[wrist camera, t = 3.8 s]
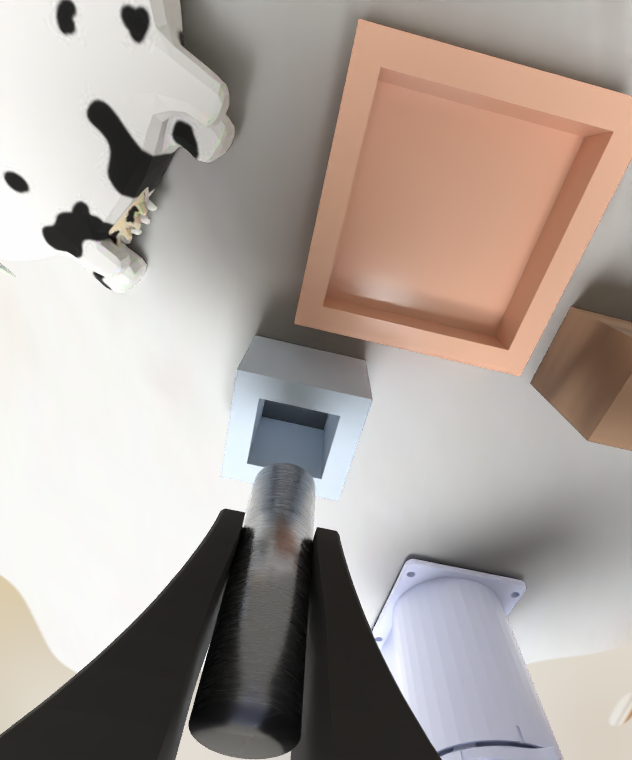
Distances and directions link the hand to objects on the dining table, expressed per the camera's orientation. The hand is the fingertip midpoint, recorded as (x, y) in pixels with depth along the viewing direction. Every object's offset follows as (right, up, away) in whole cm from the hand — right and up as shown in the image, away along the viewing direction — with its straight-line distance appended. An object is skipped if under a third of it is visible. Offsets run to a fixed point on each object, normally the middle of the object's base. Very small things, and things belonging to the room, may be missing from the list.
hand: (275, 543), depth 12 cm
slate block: (0, +4, +8) cm, 9 cm away
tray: (+6, +11, +5) cm, 14 cm away
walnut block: (+14, +6, +7) cm, 17 cm away
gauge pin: (0, +1, +2) cm, 2 cm away
